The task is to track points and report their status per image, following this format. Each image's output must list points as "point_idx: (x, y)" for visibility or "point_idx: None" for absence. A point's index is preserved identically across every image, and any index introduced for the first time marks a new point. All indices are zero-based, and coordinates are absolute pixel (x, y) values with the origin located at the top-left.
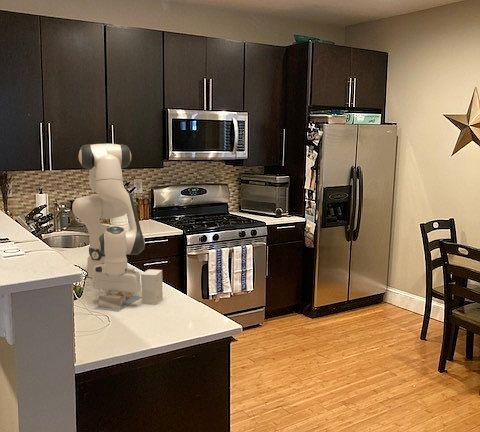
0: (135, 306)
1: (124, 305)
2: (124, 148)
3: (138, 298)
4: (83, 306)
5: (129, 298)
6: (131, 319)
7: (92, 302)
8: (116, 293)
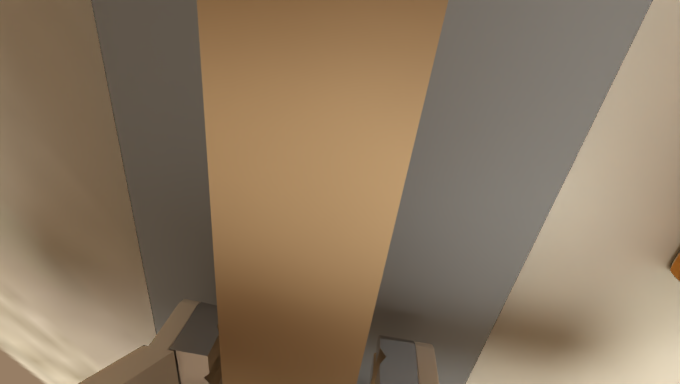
0: (565, 316)
1: None
2: None
3: (608, 26)
4: (37, 345)
5: None
6: None
7: (5, 245)
8: (224, 357)
